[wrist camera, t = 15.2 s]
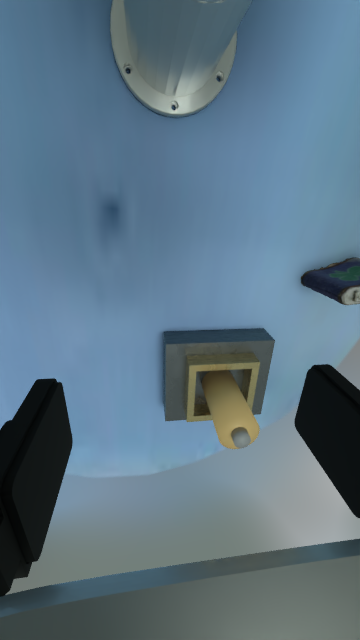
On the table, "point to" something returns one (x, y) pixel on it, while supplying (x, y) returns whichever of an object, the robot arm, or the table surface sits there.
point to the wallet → (336, 281)
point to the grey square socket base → (213, 368)
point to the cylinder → (229, 410)
